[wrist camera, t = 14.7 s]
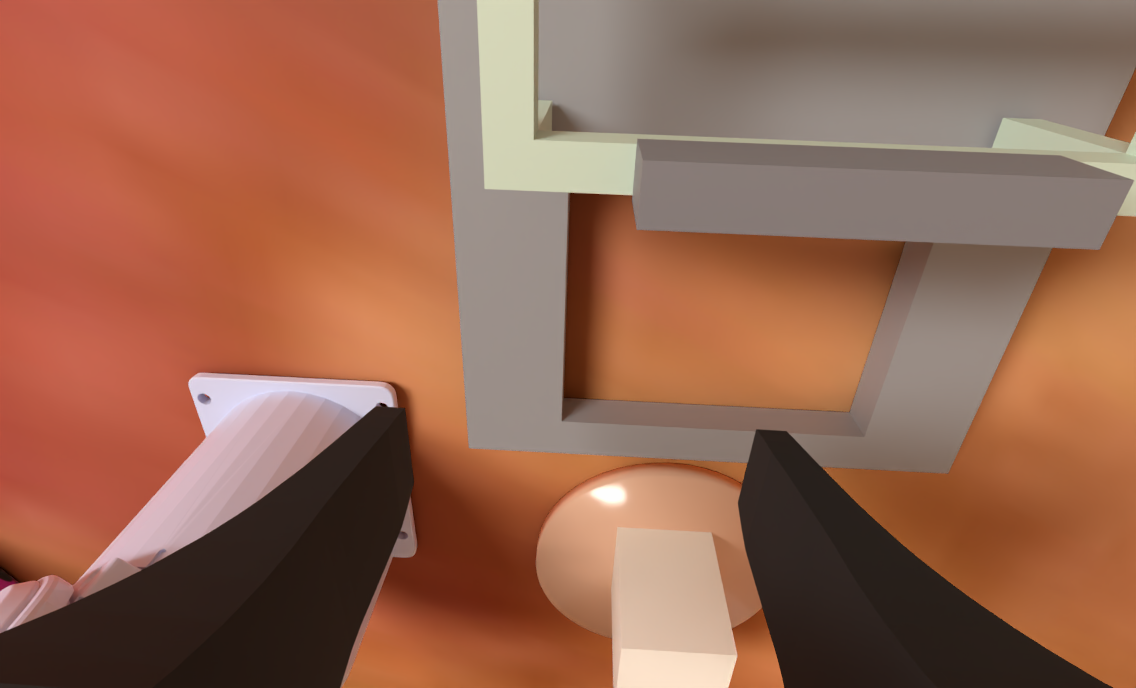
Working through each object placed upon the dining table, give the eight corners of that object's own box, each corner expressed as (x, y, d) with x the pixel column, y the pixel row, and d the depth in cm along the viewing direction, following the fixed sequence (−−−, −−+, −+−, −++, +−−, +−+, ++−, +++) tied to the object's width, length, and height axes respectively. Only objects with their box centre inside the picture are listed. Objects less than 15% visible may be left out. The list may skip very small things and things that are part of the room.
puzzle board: (928, 447, 24) (947, 473, 22) (475, 423, 24) (468, 448, 23) (1309, -441, 12) (1395, -494, 11) (422, -453, 12) (401, -506, 11)
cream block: (698, 594, 27) (719, 719, 23) (611, 588, 27) (613, 712, 23) (711, 532, 25) (737, 655, 21) (617, 526, 25) (621, 648, 21)
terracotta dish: (755, 636, 30) (758, 651, 29) (536, 623, 30) (535, 637, 29) (805, 470, 24) (811, 483, 24) (537, 455, 25) (535, 469, 24)
